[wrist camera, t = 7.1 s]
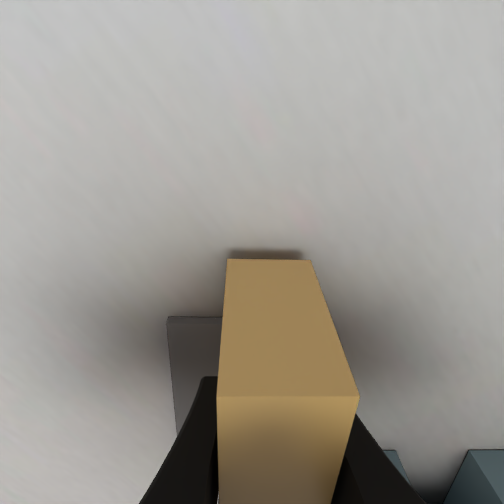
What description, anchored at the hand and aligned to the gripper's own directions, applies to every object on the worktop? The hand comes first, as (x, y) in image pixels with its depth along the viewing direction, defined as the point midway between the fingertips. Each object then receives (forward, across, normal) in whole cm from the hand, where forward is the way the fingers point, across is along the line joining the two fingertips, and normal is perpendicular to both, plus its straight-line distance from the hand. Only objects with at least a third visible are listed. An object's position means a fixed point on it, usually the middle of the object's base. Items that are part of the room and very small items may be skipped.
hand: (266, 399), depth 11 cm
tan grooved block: (+2, 0, 0) cm, 2 cm away
